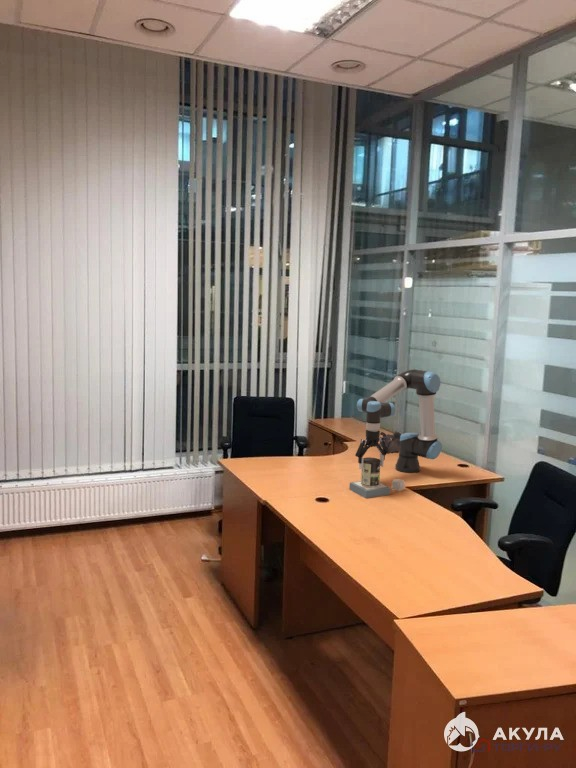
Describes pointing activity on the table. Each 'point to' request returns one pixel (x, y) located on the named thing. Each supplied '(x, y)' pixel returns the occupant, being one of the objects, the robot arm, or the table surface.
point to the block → (398, 484)
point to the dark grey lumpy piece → (391, 441)
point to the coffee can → (370, 472)
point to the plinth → (369, 490)
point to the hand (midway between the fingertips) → (371, 467)
